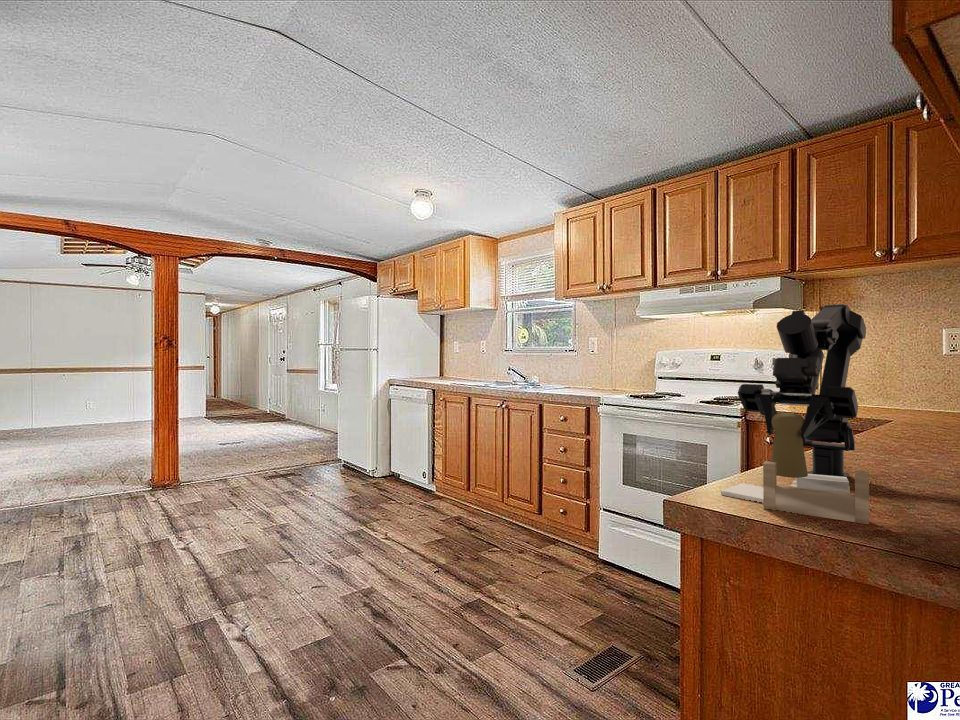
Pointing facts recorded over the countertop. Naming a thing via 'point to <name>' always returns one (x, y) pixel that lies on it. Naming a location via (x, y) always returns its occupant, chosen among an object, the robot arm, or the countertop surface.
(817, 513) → the birch rack
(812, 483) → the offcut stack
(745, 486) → the ceramic pad
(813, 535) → the countertop surface
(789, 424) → the cork
